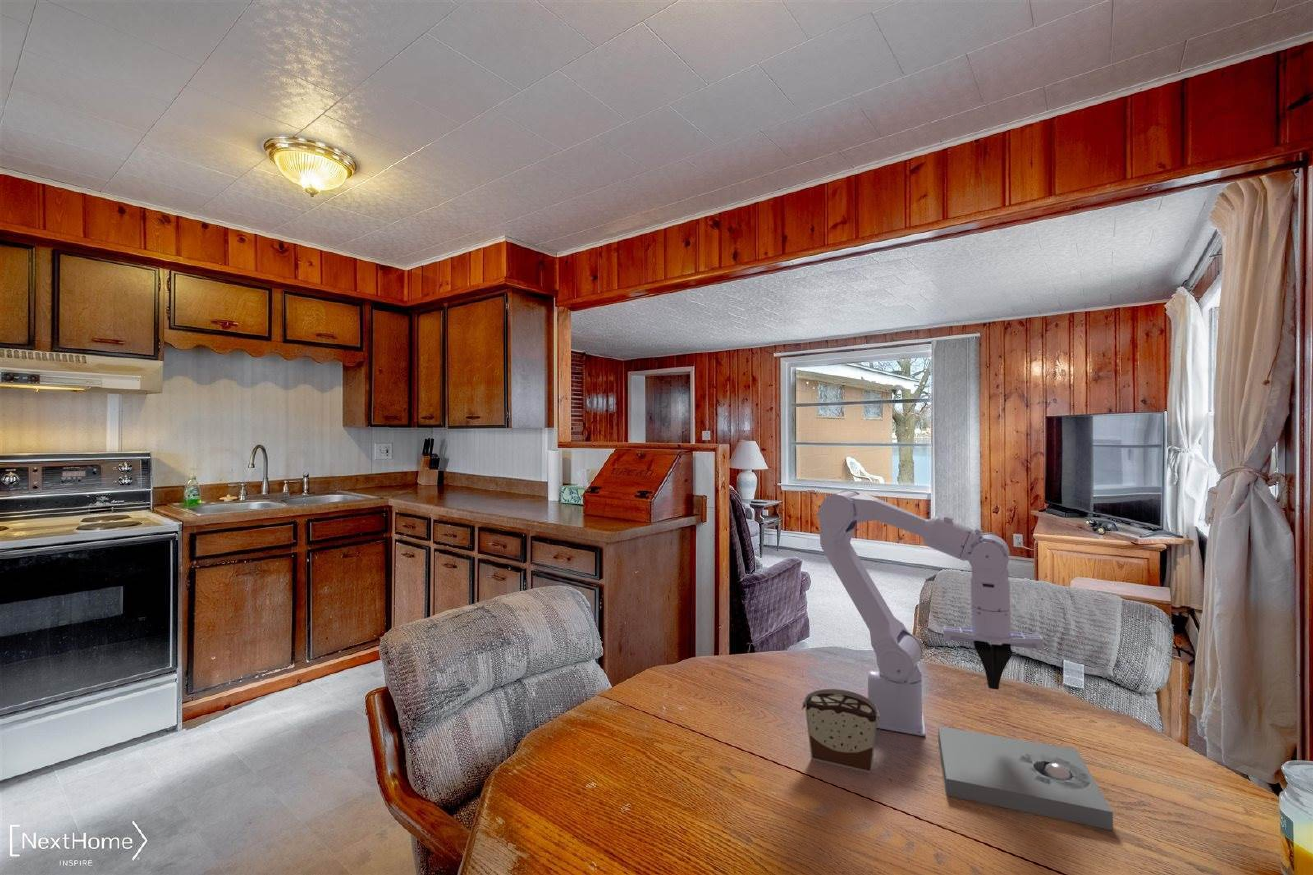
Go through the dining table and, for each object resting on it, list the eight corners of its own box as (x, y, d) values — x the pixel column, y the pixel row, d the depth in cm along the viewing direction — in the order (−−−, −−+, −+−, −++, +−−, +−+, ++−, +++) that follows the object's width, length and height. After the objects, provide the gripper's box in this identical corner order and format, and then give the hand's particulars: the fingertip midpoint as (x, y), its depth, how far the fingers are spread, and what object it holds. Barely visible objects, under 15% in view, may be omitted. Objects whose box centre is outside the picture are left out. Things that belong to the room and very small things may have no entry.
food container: (883, 754, 94) (883, 695, 94) (881, 775, 89) (881, 712, 89) (808, 738, 99) (808, 682, 99) (802, 757, 94) (801, 697, 94)
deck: (946, 795, 84) (946, 778, 84) (938, 740, 98) (938, 726, 98) (1112, 830, 76) (1112, 812, 76) (1077, 765, 91) (1076, 749, 91)
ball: (1079, 780, 83) (1065, 798, 83) (1074, 771, 86) (1061, 789, 86) (1054, 761, 84) (1040, 780, 85) (1050, 754, 87) (1037, 772, 88)
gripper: (944, 609, 95) (947, 690, 95) (1047, 618, 89) (1049, 703, 89) (941, 598, 101) (943, 673, 101) (1036, 605, 96) (1039, 685, 96)
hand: (992, 686), depth 96 cm, fingers closed
